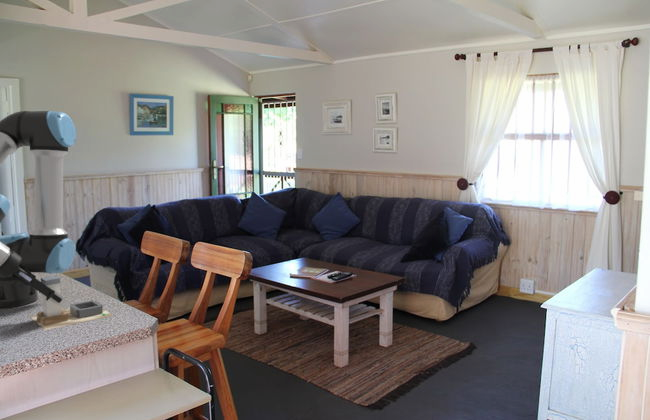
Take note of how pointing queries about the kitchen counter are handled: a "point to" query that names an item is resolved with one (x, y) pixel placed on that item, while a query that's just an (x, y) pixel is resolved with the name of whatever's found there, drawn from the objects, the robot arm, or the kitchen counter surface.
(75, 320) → the board
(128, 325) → the kitchen counter surface
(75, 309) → the port
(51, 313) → the plug
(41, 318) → the holster
